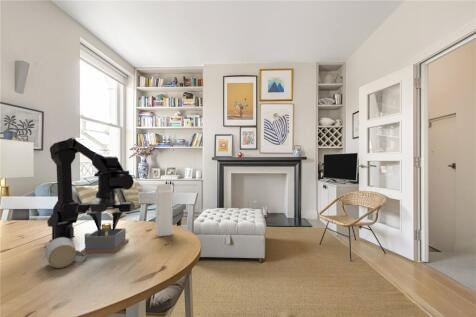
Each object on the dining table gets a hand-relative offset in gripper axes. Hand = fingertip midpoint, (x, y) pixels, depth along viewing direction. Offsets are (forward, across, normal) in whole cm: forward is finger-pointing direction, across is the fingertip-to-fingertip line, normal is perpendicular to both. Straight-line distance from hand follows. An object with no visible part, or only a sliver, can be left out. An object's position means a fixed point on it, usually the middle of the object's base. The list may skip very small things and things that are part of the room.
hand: (106, 230), depth 92 cm
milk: (+6, +18, +15) cm, 24 cm away
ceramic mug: (+7, -6, -14) cm, 17 cm away
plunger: (+5, 0, 0) cm, 5 cm away
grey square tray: (+6, 0, 0) cm, 6 cm away
